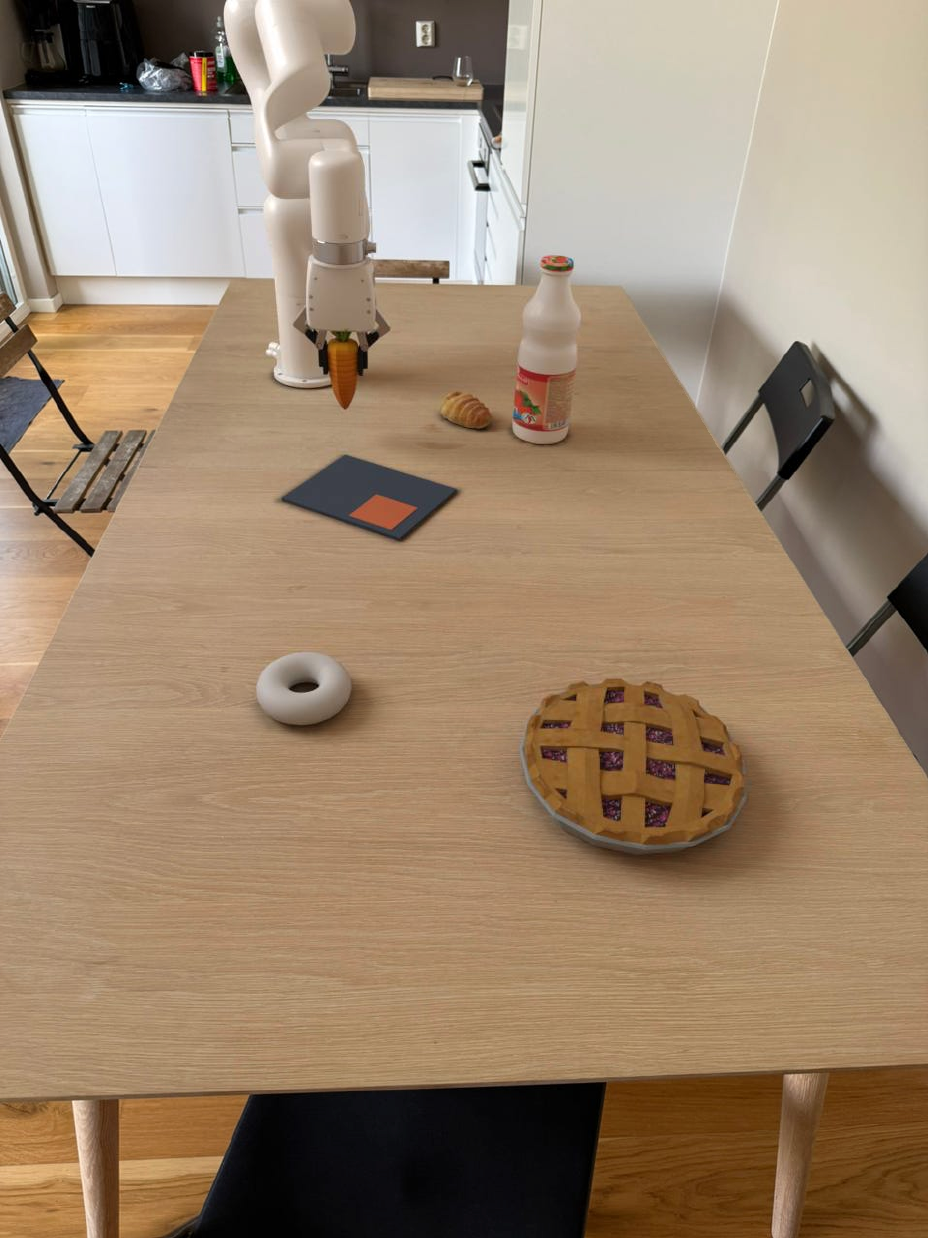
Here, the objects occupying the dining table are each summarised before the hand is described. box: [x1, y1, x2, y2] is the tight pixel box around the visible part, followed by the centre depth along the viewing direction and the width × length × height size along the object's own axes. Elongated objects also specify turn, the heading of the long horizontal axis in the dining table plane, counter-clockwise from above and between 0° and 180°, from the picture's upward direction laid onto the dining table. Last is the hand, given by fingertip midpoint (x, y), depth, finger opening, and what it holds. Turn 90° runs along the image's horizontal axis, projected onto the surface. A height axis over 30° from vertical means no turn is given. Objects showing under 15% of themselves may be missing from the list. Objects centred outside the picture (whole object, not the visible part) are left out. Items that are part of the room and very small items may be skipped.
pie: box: [519, 678, 747, 856], centre depth 86 cm, size 22×22×5 cm
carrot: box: [327, 328, 359, 411], centre depth 137 cm, size 5×5×15 cm
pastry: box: [439, 390, 493, 430], centre depth 151 cm, size 9×7×4 cm
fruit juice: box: [511, 254, 582, 445], centre depth 140 cm, size 9×9×28 cm
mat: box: [280, 454, 458, 542], centre depth 130 cm, size 20×16×1 cm
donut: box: [255, 651, 353, 726], centre depth 94 cm, size 10×4×10 cm
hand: (343, 370), depth 137 cm, fingers closed on carrot, 4 cm apart
